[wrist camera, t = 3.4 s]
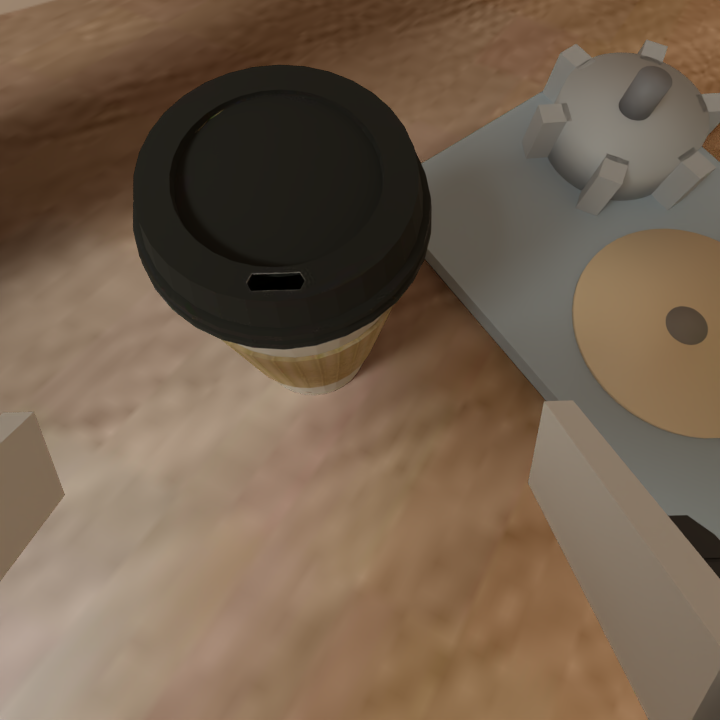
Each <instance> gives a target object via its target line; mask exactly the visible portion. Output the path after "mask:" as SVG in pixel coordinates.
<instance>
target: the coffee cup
mask: <svg viewBox="0 0 720 720" xmlns="http://www.w3.org/2000/svg"><path fill="white" fill-rule="evenodd" d="M133 200H134V202H133V231H134V235H135V240H136V244H137V248H138V252H139V256H140V258H141V261H142V264H143V266H144V268H145V270H146V272H147V274H148V276H149V278H150V280H151V282H152V284H153V286H154V288H155V289H156V291H157V292H158V293H159V294H160V295H161V296H162V298H163V299H164V300H165V301H166V302H167V304H168V305H169V306H170V307H171V308H172V310H174V311H175V312H176V313H178V314H179V315H180V316H181V317H183V318H184V319H185V320H187V321H188V322H189V323H191V324H192V325H193V326H195V327H196V328H198V329H200V330H202V331H204V332H207V333H209V334H211V335H213V336H215V337H217V338H219V339H221V340H222V341H224V342H225V343H226V344H227V345H229V346H230V347H231V348H232V349H234V350H235V351H236V352H237V353H239V354H240V355H241V356H242V357H244V358H245V359H246V360H247V361H249V362H250V363H251V364H252V365H254V366H255V367H256V368H257V369H259V370H260V371H261V372H263V373H264V374H265V375H266V376H268V377H269V378H271V379H273V380H275V381H277V382H279V383H280V384H281V385H283V386H284V387H285V388H287V389H289V390H291V391H293V392H296V393H300V394H304V395H321V394H327V393H330V392H333V391H336V390H337V389H339V388H341V387H343V386H344V385H346V384H347V383H348V382H349V381H350V380H352V379H353V377H354V376H355V375H356V374H357V372H358V371H359V369H360V367H361V365H362V363H363V362H364V360H365V359H366V358H367V357H368V355H369V353H370V351H371V349H372V347H373V345H374V343H375V341H376V339H377V337H378V335H379V333H380V331H381V329H382V327H383V325H384V323H385V321H386V319H387V317H388V315H389V313H390V311H391V309H392V307H393V305H394V304H395V303H396V302H397V301H398V300H399V298H400V297H401V296H402V295H403V293H404V292H405V291H406V290H407V289H408V287H409V286H410V285H411V284H412V282H413V281H414V279H415V277H416V275H417V273H418V271H419V269H420V267H421V265H422V263H423V261H424V259H425V257H426V252H427V248H428V244H429V240H430V236H431V219H432V205H431V195H430V191H429V186H428V182H427V177H426V174H425V171H424V169H423V167H422V165H421V162H420V160H419V158H418V156H417V154H416V152H415V150H414V146H413V144H412V142H411V140H410V138H409V135H408V133H407V131H406V129H405V127H404V125H403V124H402V123H401V122H400V120H399V119H398V118H397V116H396V115H395V114H394V112H393V111H392V110H391V108H390V107H388V106H387V105H386V104H385V103H384V102H383V101H382V100H380V99H379V98H378V97H377V96H376V95H375V94H374V93H372V92H371V91H369V90H367V89H366V88H364V87H362V86H360V85H359V84H357V83H355V82H354V81H352V80H350V79H347V78H344V77H342V76H339V75H337V74H334V73H331V72H329V71H324V70H319V69H315V68H310V67H305V66H290V65H272V66H260V67H252V68H248V69H244V70H240V71H235V72H231V73H228V74H225V75H223V76H220V77H218V78H216V79H213V80H211V81H208V82H206V83H204V84H202V85H201V86H199V87H197V88H196V89H194V90H192V91H191V92H189V93H187V94H186V95H184V96H183V97H182V98H181V99H179V100H178V101H177V102H176V103H175V104H174V105H173V106H171V107H170V108H169V109H168V110H167V111H166V112H165V113H164V114H163V115H162V117H161V118H160V119H159V120H158V122H157V123H156V124H155V125H154V127H153V128H152V129H151V130H150V132H149V134H148V136H147V138H146V140H145V142H144V144H143V146H142V148H141V150H140V152H139V155H138V159H137V163H136V167H135V172H134V180H133Z"/></svg>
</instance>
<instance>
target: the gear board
mask: <svg viewBox="0 0 720 720" xmlns="http://www.w3.org/2000/svg"><path fill="white" fill-rule="evenodd" d="M667 47H668V46H664V45H661V44H658V43H655V42H652V41H649V40H646V41H645V43H644V44H643V46H642V48H641V49H640V51H639V52H638V54H634V53H609V54H603V55H599V56H596V57H593V58H592V57H591V56H589V55H588V54H587V53H586V52H585V51H584V50H583V49H582V48H580V47H579V46H578V45H577V44H575V45H573V46H572V47H570V48H568V49H566V50H565V51H563V52H561V53H560V55H559V57H558V59H557V62H556V64H555V66H554V68H553V71H552V73H551V75H550V77H549V79H548V82H547V84H546V86H545V88H544V90H543V91H542V92H540V93H539V94H537V95H535V96H534V97H532V98H530V99H529V100H527V101H525V102H524V103H522V104H520V105H519V106H517V107H515V108H514V109H512V110H510V111H509V112H507V113H505V114H504V115H502V116H500V117H499V118H497V119H495V120H494V121H492V122H490V123H489V124H487V125H485V126H484V127H482V128H480V129H479V130H477V131H475V132H473V133H472V134H470V135H468V136H467V137H465V138H463V139H462V140H460V141H458V142H457V143H455V144H453V145H452V146H450V147H448V148H447V149H445V150H443V151H442V152H440V153H438V154H437V155H435V156H433V157H432V158H430V159H428V160H427V161H425V162H423V163H422V164H421V165H422V167H423V169H424V171H425V174H426V177H427V182H428V186H429V191H430V195H431V205H432V219H431V236H430V240H429V244H428V248H427V252H426V257H425V260H426V261H427V262H428V263H429V264H430V265H431V267H432V268H433V269H434V270H435V271H436V272H437V274H438V275H439V276H440V277H441V278H442V279H443V281H444V282H445V283H446V284H447V285H448V286H449V288H450V289H451V290H452V291H453V292H454V293H455V295H456V296H457V297H458V298H459V299H460V300H461V302H462V303H463V304H464V305H465V306H466V308H467V309H468V310H469V311H470V312H471V313H472V315H473V316H474V317H475V318H476V319H477V320H478V322H479V323H480V324H481V325H482V326H483V327H484V329H485V330H486V331H487V332H488V333H489V334H490V336H491V337H492V338H493V339H494V340H495V341H496V343H497V344H498V345H499V346H500V347H501V348H502V350H503V351H504V352H505V353H506V354H507V355H508V357H509V358H510V359H511V360H512V361H513V362H514V364H515V365H516V366H517V367H518V368H519V369H520V371H521V372H522V373H523V374H524V375H525V377H526V378H527V379H528V380H529V381H530V382H531V384H532V385H533V386H534V387H535V388H536V389H537V391H538V392H539V393H540V394H541V395H542V396H543V398H544V399H545V400H546V401H569V400H573V401H574V402H575V403H576V405H577V406H578V407H579V408H580V409H581V411H582V412H583V413H584V414H585V416H586V417H587V418H588V419H589V420H590V422H591V423H592V424H593V425H594V427H595V428H596V429H597V430H598V431H599V433H600V434H601V435H602V436H603V437H604V439H605V440H606V441H607V442H608V444H609V445H610V446H611V447H612V448H613V450H614V451H615V452H616V453H617V454H618V456H619V457H620V458H621V459H622V461H623V462H624V463H625V464H626V465H627V467H628V468H629V469H630V470H631V471H632V473H633V474H634V475H635V476H636V478H637V479H638V480H639V481H640V482H641V484H642V485H643V486H644V487H645V489H646V490H647V491H648V492H649V493H650V495H651V496H652V497H653V498H654V499H655V501H656V502H657V503H658V504H659V506H660V507H661V508H662V509H663V510H664V512H665V513H666V514H667V515H668V516H672V515H688V516H689V517H691V518H692V519H694V520H695V521H696V522H698V523H699V524H701V525H702V526H704V527H705V528H706V529H708V530H709V531H711V532H712V533H713V534H715V535H716V536H717V538H718V539H719V540H720V162H719V161H718V160H716V159H715V158H714V157H713V156H712V155H711V154H710V153H708V152H707V151H706V150H705V149H704V148H703V147H702V145H703V143H704V141H705V140H706V137H707V136H708V135H709V134H710V132H711V131H712V130H713V129H714V128H715V127H716V126H717V125H718V124H719V123H720V93H712V94H701V93H700V92H699V91H698V89H697V88H696V87H695V85H694V84H693V83H692V82H691V81H690V80H689V79H688V78H687V77H686V76H684V75H683V74H682V73H680V72H679V71H678V70H676V69H675V68H673V67H671V66H670V65H668V64H666V63H664V62H663V59H664V56H665V53H666V50H667Z"/></svg>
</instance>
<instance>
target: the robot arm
mask: <svg viewBox="0 0 720 720" xmlns="http://www.w3.org/2000/svg"><path fill="white" fill-rule="evenodd" d="M528 484H529V486H530V488H531V490H532V492H533V494H534V496H535V498H536V500H537V502H538V504H539V506H540V508H541V510H542V511H543V513H544V515H545V517H546V519H547V521H548V523H549V525H550V527H551V529H552V531H553V533H554V535H555V537H556V539H557V541H558V543H559V545H560V547H561V549H562V551H563V553H564V555H565V557H566V559H567V561H568V562H569V564H570V566H571V568H572V570H573V572H574V574H575V576H576V578H577V580H578V582H579V584H580V586H581V588H582V590H583V592H584V594H585V596H586V598H587V600H588V602H589V604H590V606H591V608H592V610H593V612H594V613H595V615H596V617H597V619H598V621H599V623H600V625H601V627H602V629H603V631H604V633H605V635H606V637H607V639H608V641H609V643H610V645H611V647H612V649H613V651H614V653H615V655H616V657H617V659H618V661H619V663H620V665H621V666H622V668H623V670H624V672H625V674H626V676H627V678H628V680H629V682H630V684H631V686H632V688H633V690H634V692H635V694H636V696H637V698H638V700H639V702H640V704H641V706H642V708H643V710H644V712H645V714H646V716H647V717H648V719H649V720H720V540H719V539H718V538H717V536H716V535H715V534H713V533H712V532H711V531H709V530H708V529H706V528H705V527H704V526H702V525H701V524H699V523H698V522H696V521H695V520H694V519H692V518H691V517H689V516H688V515H672V516H668V515H667V514H666V513H665V512H664V510H663V509H662V508H661V507H660V506H659V504H658V503H657V502H656V501H655V499H654V498H653V497H652V496H651V495H650V493H649V492H648V491H647V490H646V489H645V487H644V486H643V485H642V484H641V482H640V481H639V480H638V479H637V478H636V476H635V475H634V474H633V473H632V471H631V470H630V469H629V468H628V467H627V465H626V464H625V463H624V462H623V461H622V459H621V458H620V457H619V456H618V454H617V453H616V452H615V451H614V450H613V448H612V447H611V446H610V445H609V444H608V442H607V441H606V440H605V439H604V437H603V436H602V435H601V434H600V433H599V431H598V430H597V429H596V428H595V427H594V425H593V424H592V423H591V422H590V420H589V419H588V418H587V417H586V416H585V414H584V413H583V412H582V411H581V409H580V408H579V407H578V406H577V405H576V403H575V402H574V401H573V400H569V401H544V404H543V409H542V414H541V419H540V424H539V430H538V435H537V440H536V445H535V450H534V455H533V460H532V465H531V470H530V475H529V481H528ZM64 495H65V494H64V491H63V488H62V486H61V483H60V480H59V478H58V475H57V472H56V470H55V467H54V464H53V462H52V459H51V456H50V453H49V451H48V448H47V445H46V443H45V440H44V437H43V435H42V432H41V429H40V427H39V424H38V421H37V418H36V416H35V413H34V412H5V413H2V414H1V415H0V581H1V579H2V578H3V577H4V575H5V574H6V573H7V571H8V570H9V569H10V567H11V566H12V565H13V563H14V562H15V561H16V559H17V558H18V557H19V555H20V554H21V553H22V551H23V550H24V549H25V547H26V546H27V545H28V543H29V542H30V541H31V539H32V538H33V537H34V535H35V534H36V533H37V531H38V530H39V529H40V527H41V526H42V525H43V523H44V522H45V521H46V519H47V518H48V517H49V515H50V514H51V513H52V511H53V510H54V509H55V507H56V506H57V505H58V503H59V502H60V501H61V499H62V498H63V497H64Z"/></svg>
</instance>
